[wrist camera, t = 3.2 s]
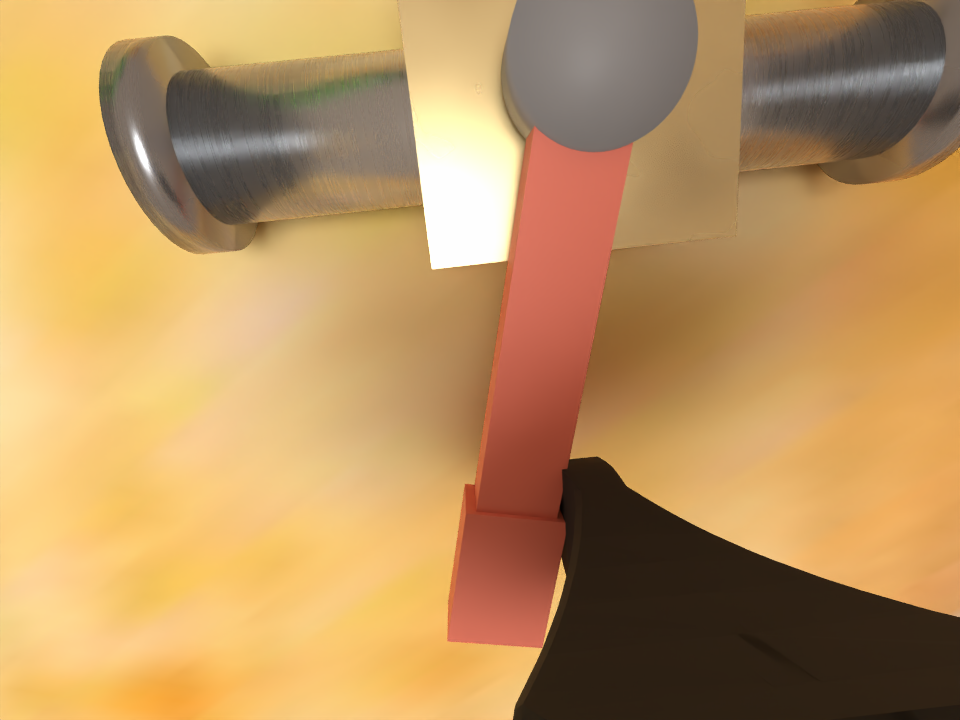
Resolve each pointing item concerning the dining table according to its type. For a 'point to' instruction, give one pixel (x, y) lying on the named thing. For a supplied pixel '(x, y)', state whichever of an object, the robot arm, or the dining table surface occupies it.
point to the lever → (556, 284)
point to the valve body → (498, 143)
